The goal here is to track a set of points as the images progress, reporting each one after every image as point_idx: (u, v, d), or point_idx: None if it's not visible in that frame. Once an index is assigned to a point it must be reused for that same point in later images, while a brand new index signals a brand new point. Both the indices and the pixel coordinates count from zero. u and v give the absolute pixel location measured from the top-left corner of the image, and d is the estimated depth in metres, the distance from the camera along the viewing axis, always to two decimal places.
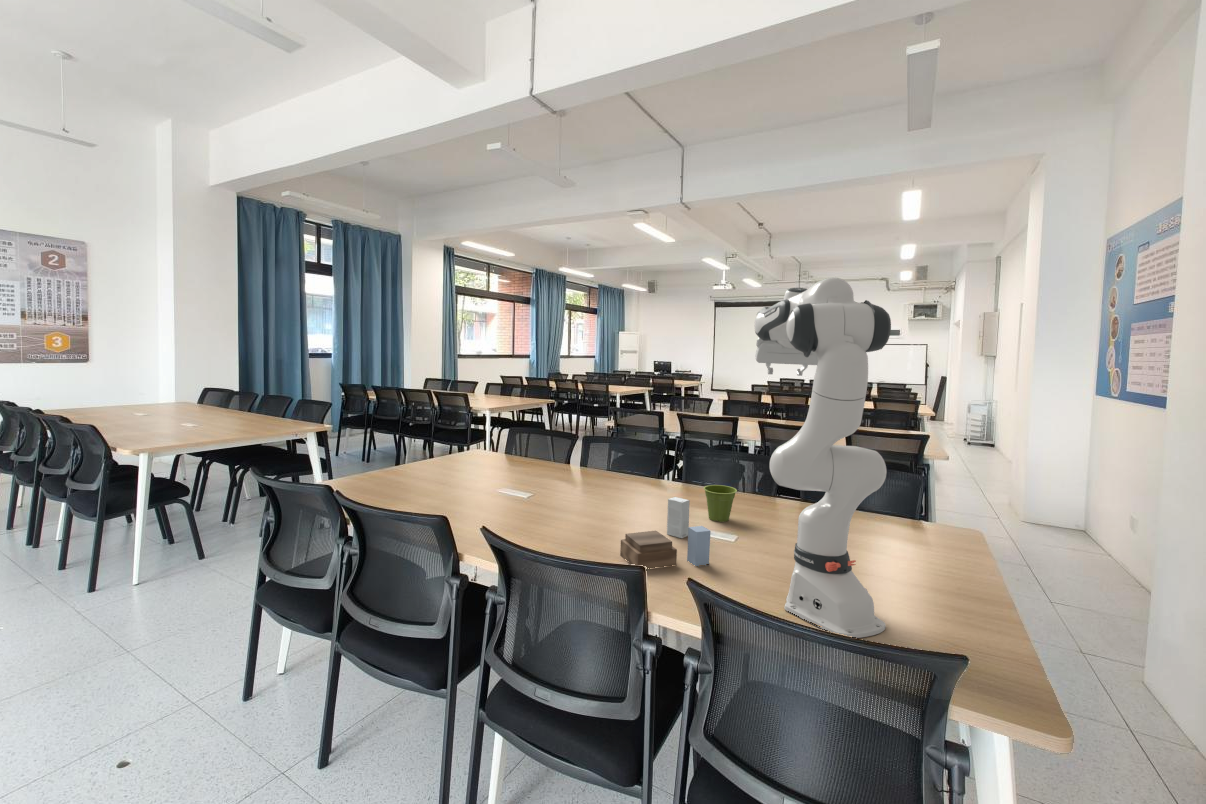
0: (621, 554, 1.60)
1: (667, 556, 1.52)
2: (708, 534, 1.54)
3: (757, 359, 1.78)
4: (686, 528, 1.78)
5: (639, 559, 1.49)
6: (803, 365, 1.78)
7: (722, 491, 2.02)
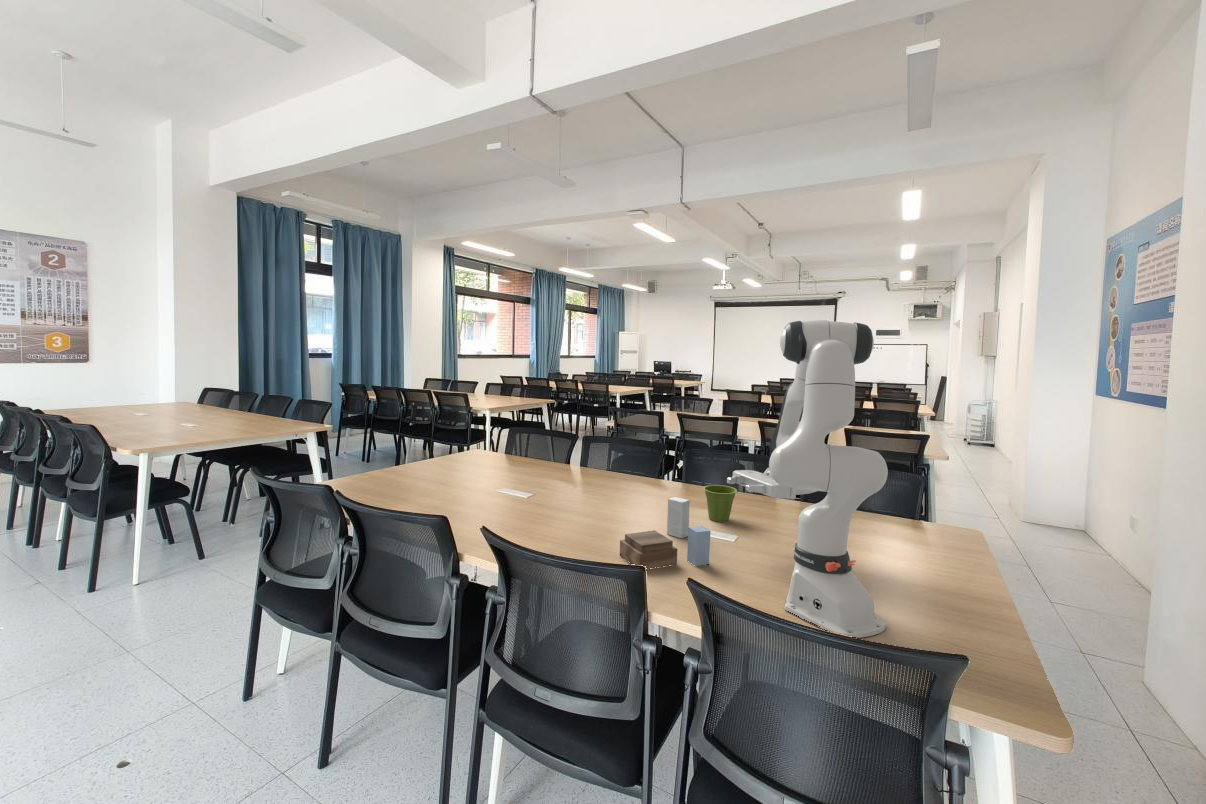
0: (620, 554, 1.59)
1: (668, 556, 1.52)
2: (708, 534, 1.54)
3: None
4: (686, 528, 1.78)
5: (641, 559, 1.49)
6: (760, 484, 1.55)
7: (722, 491, 2.02)
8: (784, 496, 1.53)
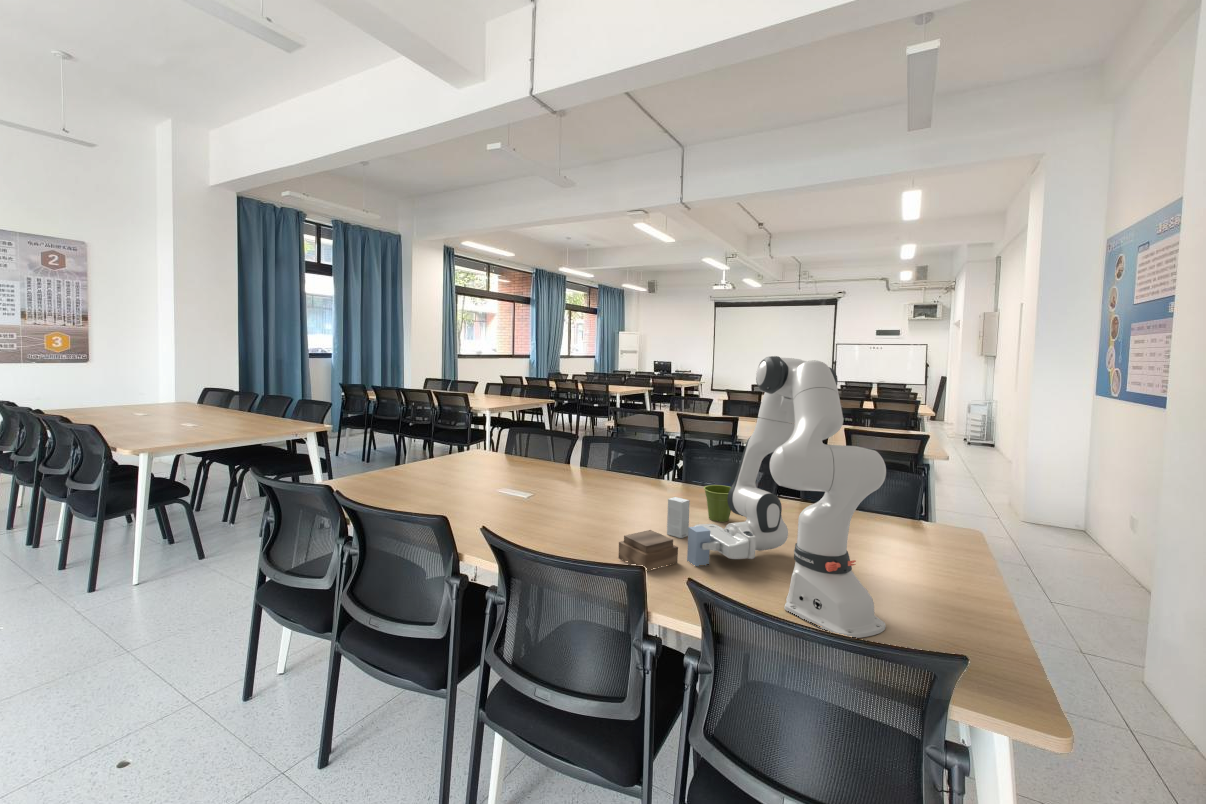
0: (619, 556, 1.58)
1: (669, 554, 1.53)
2: (708, 534, 1.54)
3: (697, 524, 1.66)
4: (686, 528, 1.78)
5: (646, 560, 1.49)
6: (715, 541, 1.53)
7: (722, 491, 2.02)
8: (742, 556, 1.49)
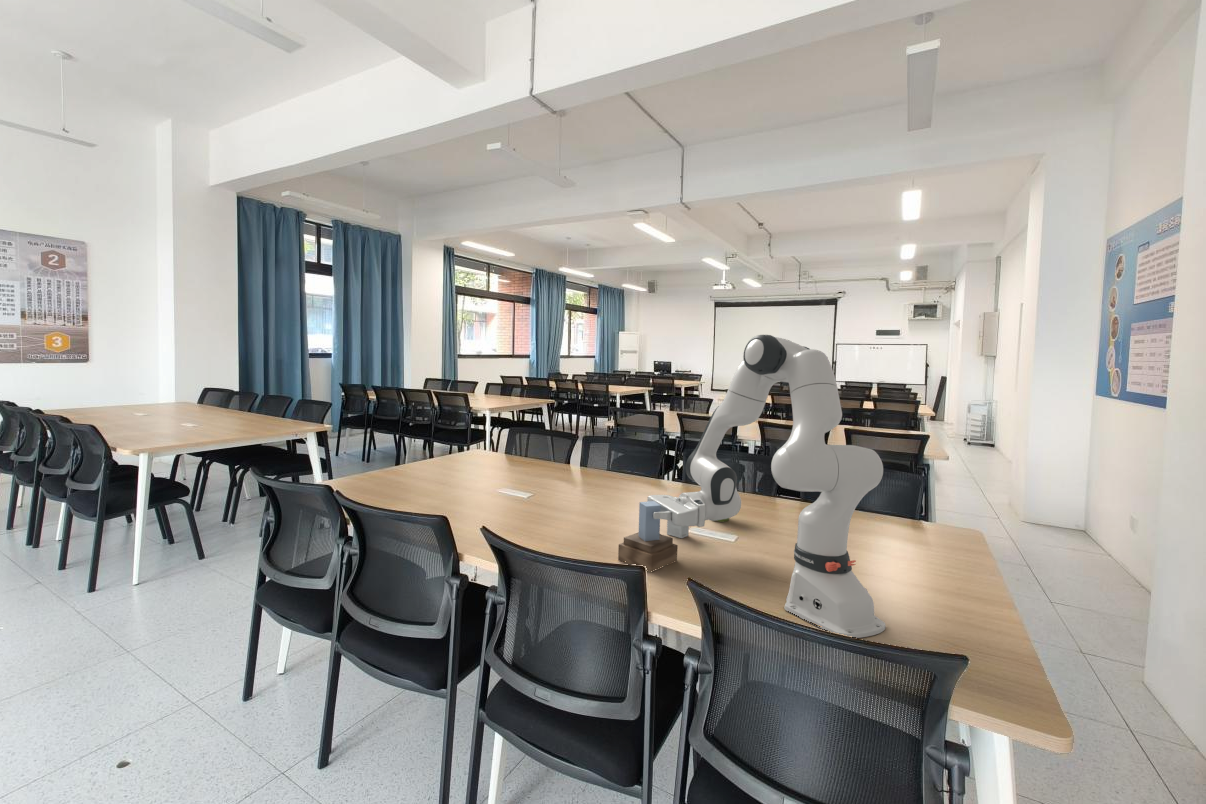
0: (620, 559, 1.56)
1: (671, 553, 1.55)
2: (658, 509, 1.54)
3: (650, 495, 1.66)
4: (686, 528, 1.78)
5: (652, 560, 1.48)
6: (667, 511, 1.52)
7: None
8: (691, 524, 1.50)
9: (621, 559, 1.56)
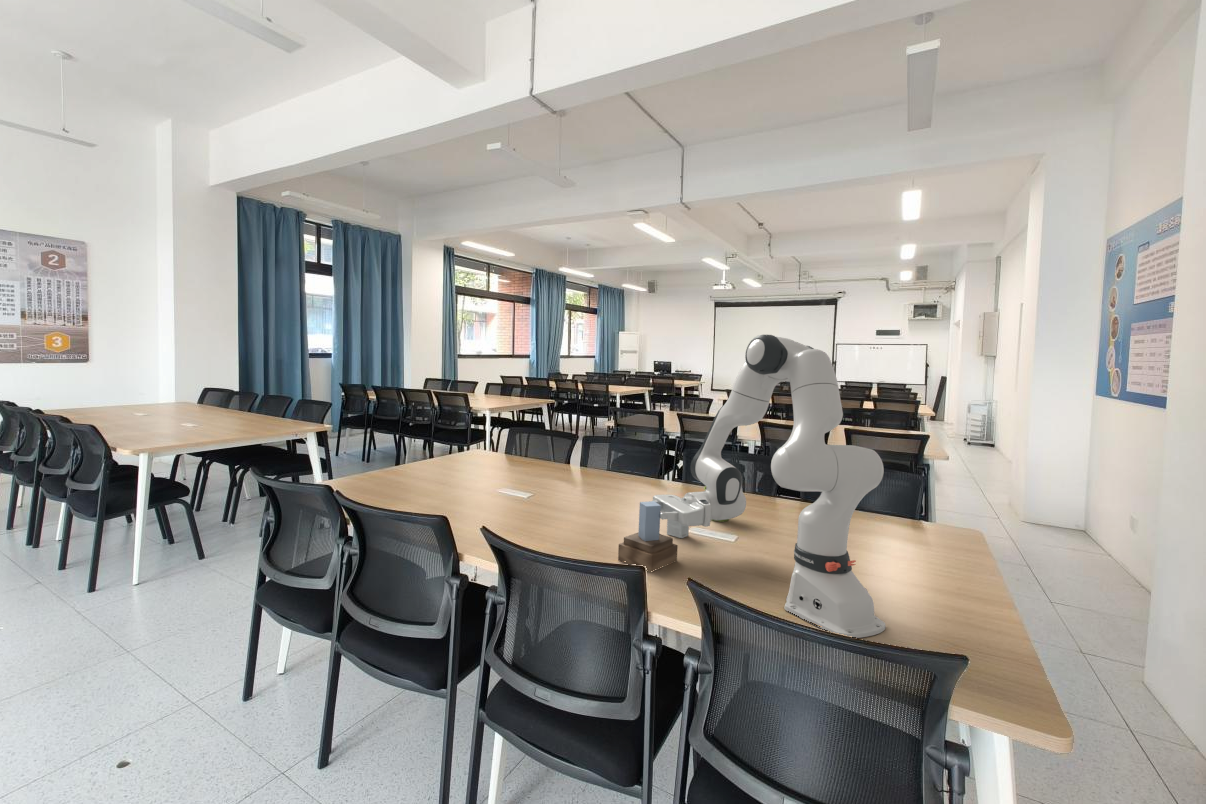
0: (620, 559, 1.56)
1: (671, 553, 1.55)
2: (658, 509, 1.54)
3: (656, 495, 1.67)
4: (686, 528, 1.78)
5: (652, 560, 1.48)
6: (674, 511, 1.52)
7: None
8: (696, 523, 1.50)
9: (621, 559, 1.56)
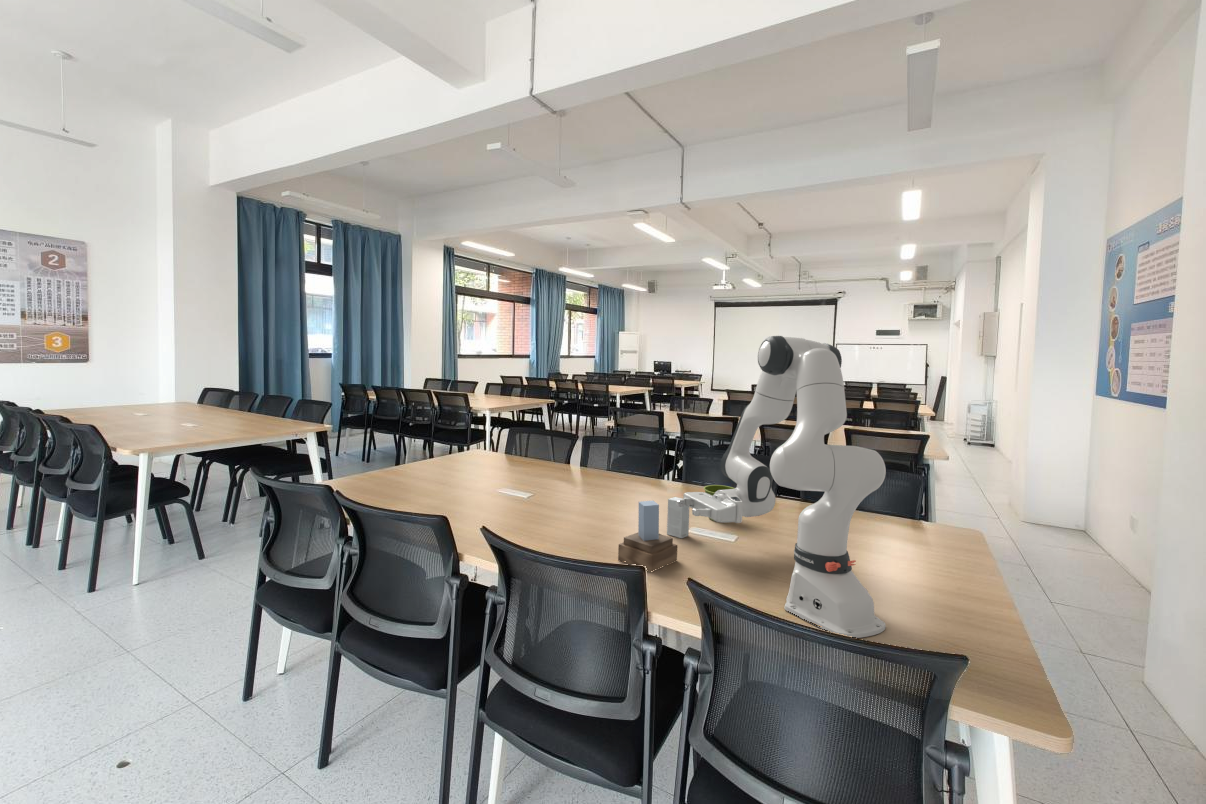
0: (619, 559, 1.56)
1: (671, 553, 1.55)
2: (656, 508, 1.54)
3: (686, 492, 1.71)
4: (686, 528, 1.78)
5: (652, 560, 1.48)
6: (706, 508, 1.56)
7: None
8: (729, 520, 1.54)
9: (621, 559, 1.56)
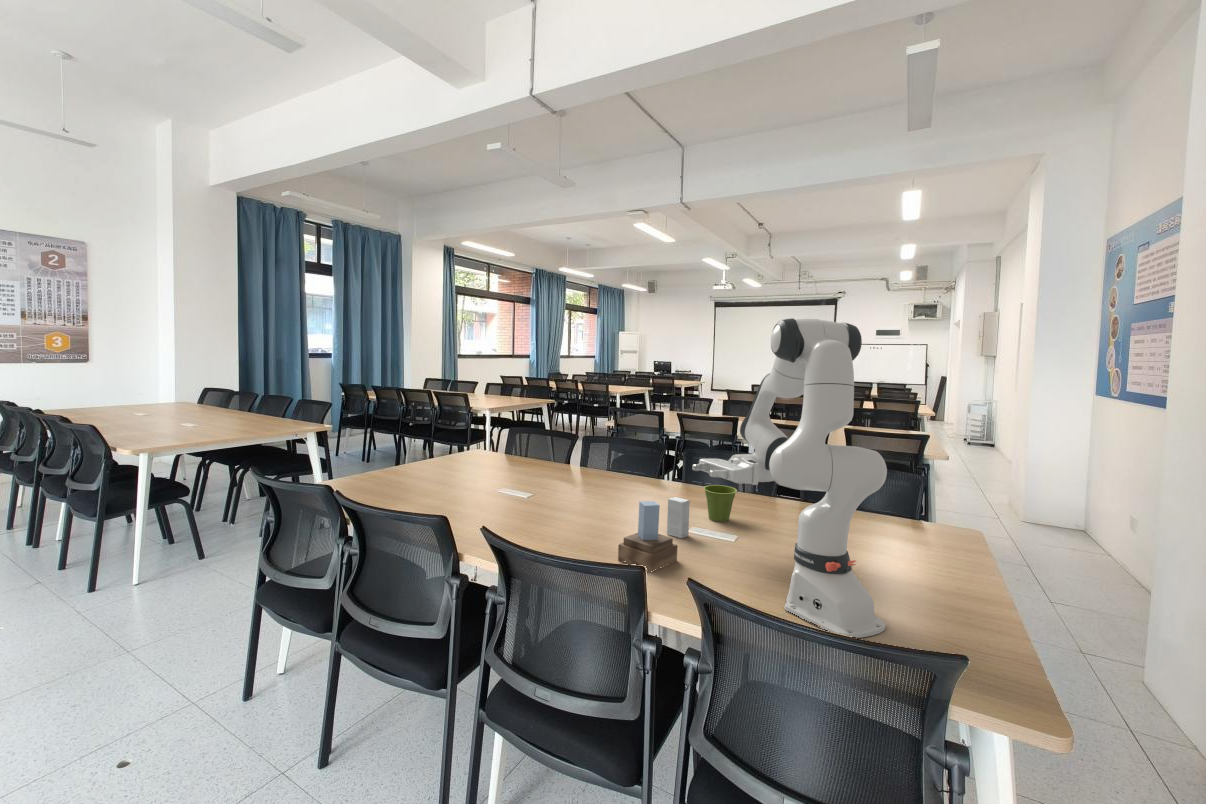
0: (619, 559, 1.56)
1: (671, 553, 1.55)
2: (657, 508, 1.54)
3: None
4: (686, 528, 1.78)
5: (652, 560, 1.48)
6: (723, 470, 1.59)
7: (722, 491, 2.02)
8: (746, 481, 1.56)
9: (621, 559, 1.56)
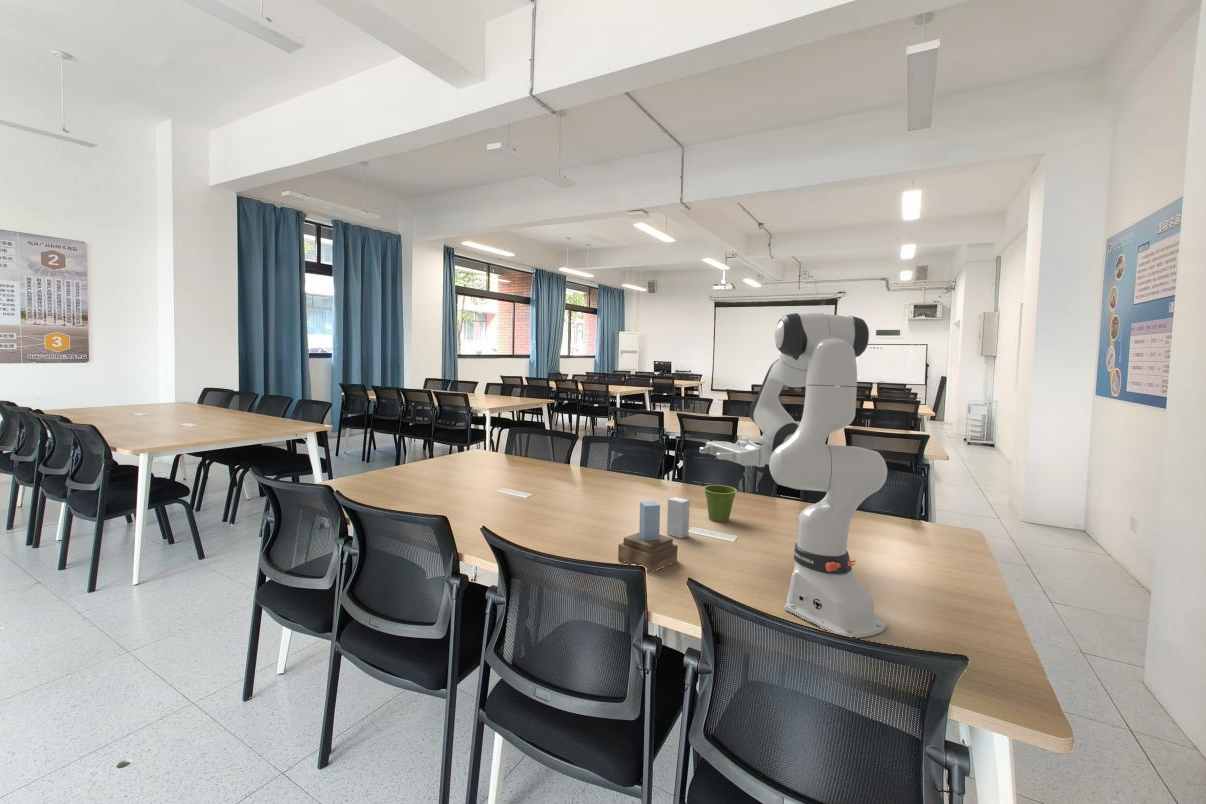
0: (619, 559, 1.56)
1: (671, 553, 1.54)
2: (657, 509, 1.54)
3: (709, 441, 1.74)
4: (686, 528, 1.78)
5: (652, 561, 1.48)
6: (730, 452, 1.60)
7: (722, 491, 2.02)
8: (753, 463, 1.58)
9: (621, 559, 1.55)
